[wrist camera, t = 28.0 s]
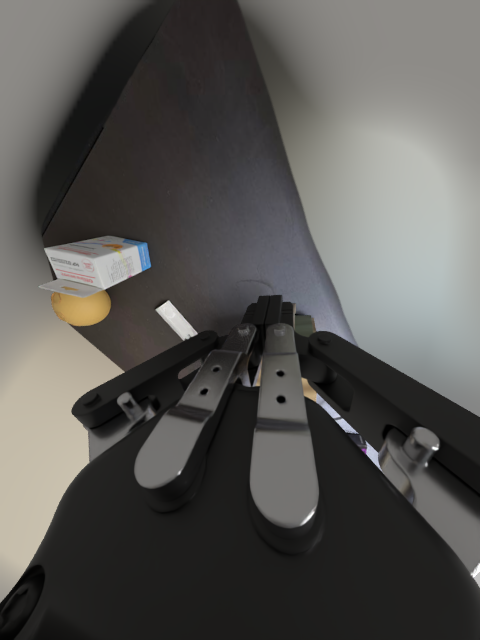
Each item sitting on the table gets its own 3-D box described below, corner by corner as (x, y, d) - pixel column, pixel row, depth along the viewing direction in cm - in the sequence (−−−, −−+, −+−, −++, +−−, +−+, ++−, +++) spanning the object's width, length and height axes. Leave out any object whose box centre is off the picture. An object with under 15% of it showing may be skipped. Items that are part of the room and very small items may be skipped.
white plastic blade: (196, 354, 49) (194, 357, 48) (155, 309, 44) (152, 311, 43) (211, 348, 46) (209, 351, 45) (169, 299, 41) (166, 302, 40)
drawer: (246, 293, 35) (236, 314, 29) (311, 289, 32) (316, 313, 26) (258, 368, 45) (252, 396, 39) (308, 371, 42) (311, 402, 35)
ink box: (147, 241, 35) (72, 264, 23) (152, 267, 38) (86, 300, 26) (107, 234, 36) (15, 252, 24) (114, 260, 39) (35, 288, 27)
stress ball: (99, 267, 41) (50, 284, 33) (128, 305, 45) (92, 329, 37) (75, 282, 45) (26, 300, 37) (104, 315, 49) (66, 339, 41)
